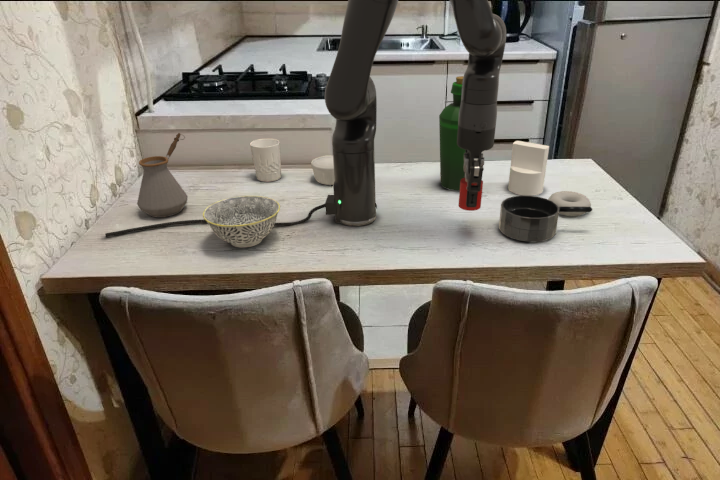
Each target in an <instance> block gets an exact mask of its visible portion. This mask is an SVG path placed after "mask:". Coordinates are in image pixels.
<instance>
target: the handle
mask: <svg viewBox="0 0 720 480" xmlns="http://www.w3.org/2000/svg"><path fill="white" fill-rule="evenodd" d="M592 211H593V208H592V206H591V207H561V206H560V207H559V212H587V213H592Z"/></svg>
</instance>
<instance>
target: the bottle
mask: <svg viewBox="0 0 720 480" xmlns="http://www.w3.org/2000/svg"><path fill="white" fill-rule="evenodd" d="M463 77H464V75H459V76H456V77H455V81H453V83H452V85H451V90H450V93H451V94H452V102H451V103H450V104H448V105H447V106H445V107H444V108H443V109H442V111H441V112H440V114H439V116H438V119H439V124H438V125H439V167H440V168H439V170H440V180H439V181H440V185H441V186H442V187H443V188H445V189H447V190H449V191H456V192H460V181H461V179H463V178H464V176H465V174H464V153H465V150H464V149H462V148H460V147H459V146H458V145H457V133H458V120H459V109H460V104H461V95H462V83H463Z"/></svg>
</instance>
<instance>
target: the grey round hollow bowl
mask: <svg viewBox="0 0 720 480" xmlns="http://www.w3.org/2000/svg"><path fill="white" fill-rule="evenodd" d="M548 199H549V198H548ZM548 199H547V198H546V197H541V196H538V195H534V196H524V195H513V196H509V197H507V198H505V199H503V200H502V201H501V203H500V210H499V220H498V229H499V231H500V232H501V233H502V234H503V235H504V236H506V237H508V238H510V239H513V240H515V241H521V242H526V243H527V242H528V243H535V242H536V243H537V242H544V241H547V240H550V239H552V238H553V237H554V236H555V235H556V232H557V228H558V221H559V215H560V214H559V207H558V205H557V204H556V203H554V202H553V201H550V200H548Z"/></svg>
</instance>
